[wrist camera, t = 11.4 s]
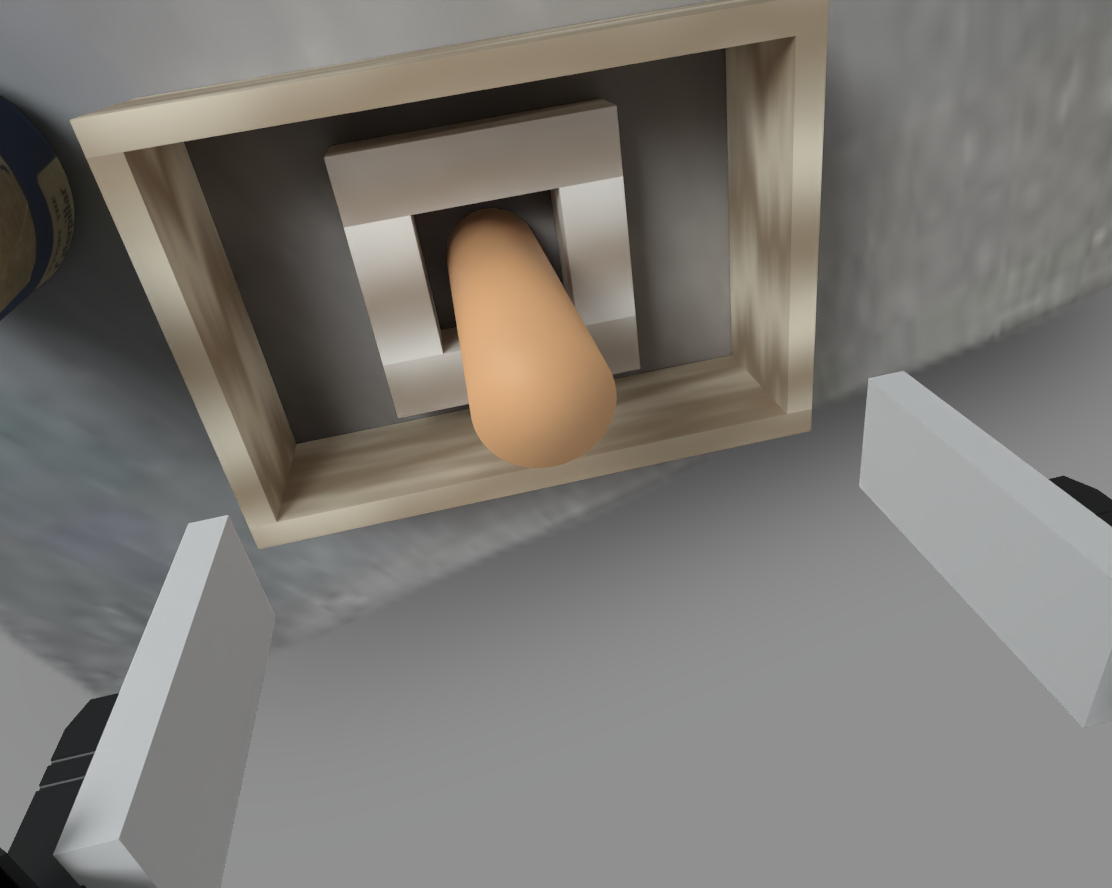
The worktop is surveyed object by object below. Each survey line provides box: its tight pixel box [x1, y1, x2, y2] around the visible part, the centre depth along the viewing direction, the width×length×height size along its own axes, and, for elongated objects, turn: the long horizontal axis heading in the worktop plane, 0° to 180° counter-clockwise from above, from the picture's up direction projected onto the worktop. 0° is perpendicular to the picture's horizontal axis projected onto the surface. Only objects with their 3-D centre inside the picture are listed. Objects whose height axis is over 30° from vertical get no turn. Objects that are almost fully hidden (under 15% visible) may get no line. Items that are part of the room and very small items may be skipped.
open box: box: [70, 0, 829, 549], centre depth 33 cm, size 18×26×7 cm
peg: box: [446, 208, 617, 468], centre depth 29 cm, size 4×4×16 cm
